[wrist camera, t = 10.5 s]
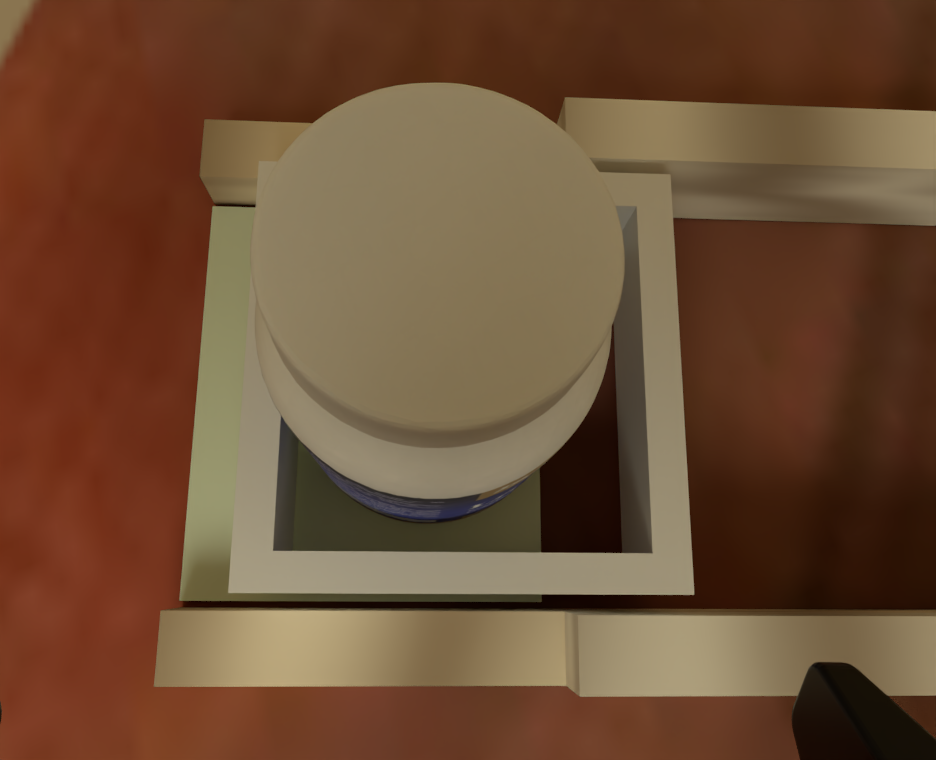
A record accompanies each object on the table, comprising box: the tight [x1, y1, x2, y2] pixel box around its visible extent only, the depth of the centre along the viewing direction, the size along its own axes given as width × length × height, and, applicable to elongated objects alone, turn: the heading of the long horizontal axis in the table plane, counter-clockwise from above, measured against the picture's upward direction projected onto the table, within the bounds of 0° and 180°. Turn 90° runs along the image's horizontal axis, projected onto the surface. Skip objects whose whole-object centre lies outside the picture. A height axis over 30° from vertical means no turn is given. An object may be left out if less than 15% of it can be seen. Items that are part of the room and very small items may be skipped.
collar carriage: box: [228, 161, 694, 595], centre depth 18 cm, size 9×9×2 cm
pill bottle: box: [250, 83, 625, 524], centre depth 15 cm, size 6×6×10 cm
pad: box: [179, 206, 542, 602], centre depth 20 cm, size 8×10×1 cm
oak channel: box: [154, 97, 936, 697], centre depth 19 cm, size 28×13×3 cm, turn 90°
